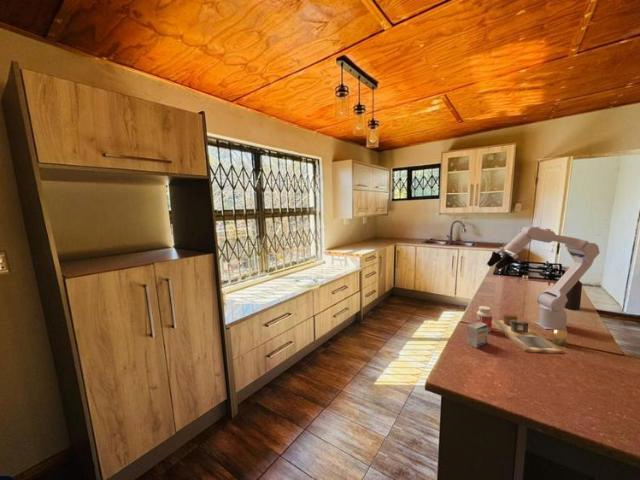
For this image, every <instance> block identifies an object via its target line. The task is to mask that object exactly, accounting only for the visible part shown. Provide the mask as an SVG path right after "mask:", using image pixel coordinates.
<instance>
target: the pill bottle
mask: <svg viewBox="0 0 640 480" xmlns="http://www.w3.org/2000/svg"><path fill="white" fill-rule="evenodd" d="M492 320H493V313H492V312H491V307H489V306H485V305H480V306H478V311H476V322H482V323H485V324H487V325H488V333H490V332H491V331H492V326H493V324H492Z"/></svg>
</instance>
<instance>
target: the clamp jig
mask: <svg viewBox="0 0 640 480" xmlns="http://www.w3.org/2000/svg"><path fill="white" fill-rule="evenodd" d="M517 321H518V322H516V321H511V325H506V324H504V323H503V322H504V319H502V320H501V319H500V320H499V319H498V320H497V319H492V326H494V327H495V328H497V329H498V330H499V331H500V332H501V333H502V334H503V335H505V336H506V337H507V338H508V339H509V340H510V341H511V342H513V343H514V344H515V345H517V346H518V347H519V348H520V349H521V350H522V351H523V352H528V353H547V354H548V353H549V354H550V353H551V354H564V349H562V348H560V347H559V346H558V345H556V344H554V343H553V342H551V341H550V340H549V339H547V338H546V337H544V336H543V335H542V334H539V333H538V332H536V331H535V330H534V329H532V328H531V327H530V326H529V323H528V322H526V321H521V320H517ZM517 325H523V330H517Z"/></svg>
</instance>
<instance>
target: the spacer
mask: <svg viewBox="0 0 640 480" xmlns="http://www.w3.org/2000/svg"><path fill="white" fill-rule="evenodd" d="M567 341H568V330H564V329H561V328H553V330H552V342H551V343H553V344H554V345H556V346H558V347H559V346H560V347H566V346H567Z"/></svg>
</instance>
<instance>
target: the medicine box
mask: <svg viewBox="0 0 640 480" xmlns="http://www.w3.org/2000/svg"><path fill="white" fill-rule="evenodd" d="M488 334H489V332H488V325H487V324H485V323H482V322H477V321H476V322H473V323H470V324H468V325H466V344H467V345H469V346H470V347H473V348H474V349H477V348H480V347H482V346H484V345H487V344H488Z"/></svg>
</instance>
